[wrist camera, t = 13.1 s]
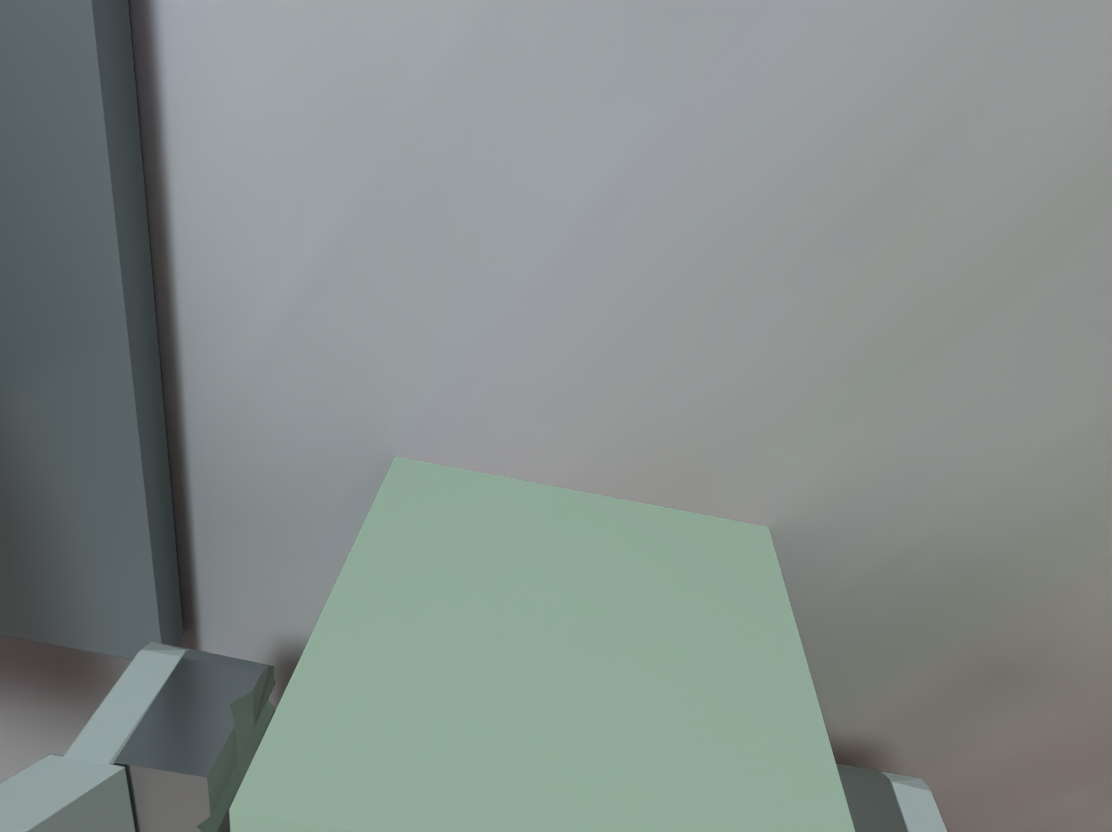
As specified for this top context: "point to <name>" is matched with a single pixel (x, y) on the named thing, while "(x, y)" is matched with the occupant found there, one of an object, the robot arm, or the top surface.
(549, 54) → the top surface
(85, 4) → the coaster
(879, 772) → the robot arm
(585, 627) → the green block
